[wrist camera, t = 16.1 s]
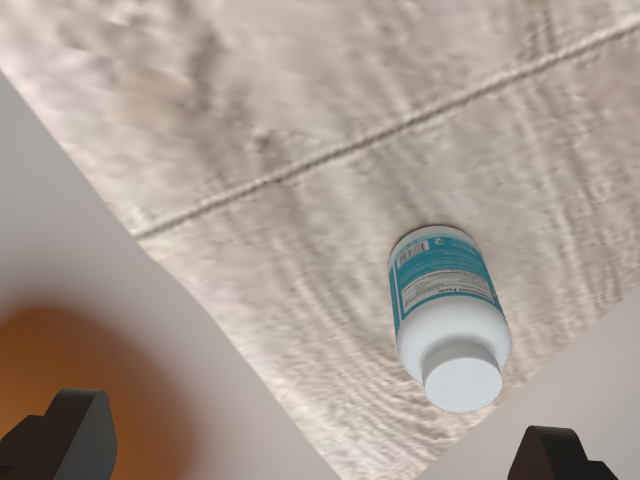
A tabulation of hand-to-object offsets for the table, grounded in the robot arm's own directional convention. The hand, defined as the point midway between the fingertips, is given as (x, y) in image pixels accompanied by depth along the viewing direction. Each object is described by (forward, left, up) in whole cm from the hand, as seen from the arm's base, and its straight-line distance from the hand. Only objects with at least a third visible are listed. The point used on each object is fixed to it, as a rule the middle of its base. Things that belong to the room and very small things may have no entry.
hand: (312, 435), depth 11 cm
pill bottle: (-9, +16, -30) cm, 35 cm away
